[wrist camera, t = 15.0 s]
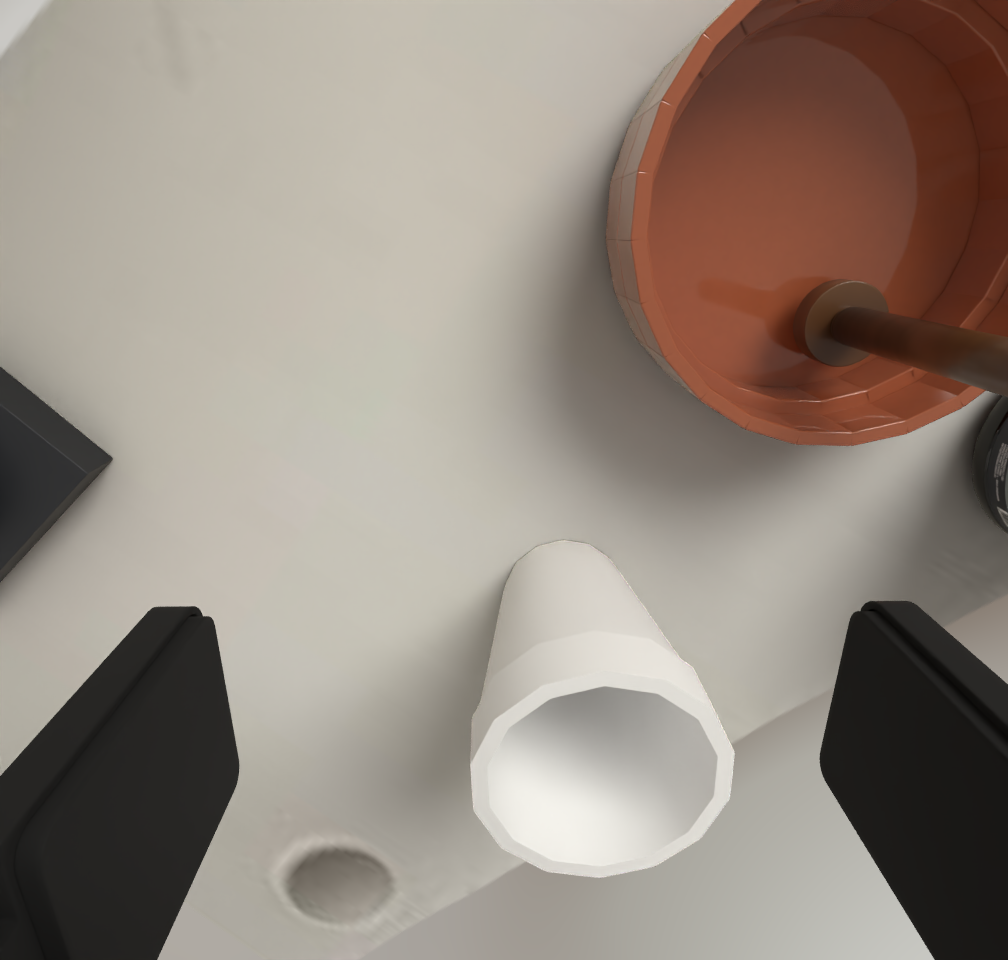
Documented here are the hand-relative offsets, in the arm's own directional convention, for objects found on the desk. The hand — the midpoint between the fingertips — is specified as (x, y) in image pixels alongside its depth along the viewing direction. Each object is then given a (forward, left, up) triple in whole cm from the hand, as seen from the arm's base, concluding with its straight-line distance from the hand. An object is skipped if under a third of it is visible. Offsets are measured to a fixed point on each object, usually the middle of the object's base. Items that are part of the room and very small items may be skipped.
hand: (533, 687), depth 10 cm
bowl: (+4, +14, -23) cm, 27 cm away
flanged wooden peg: (+8, +12, -21) cm, 26 cm away
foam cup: (+11, -6, -23) cm, 26 cm away
